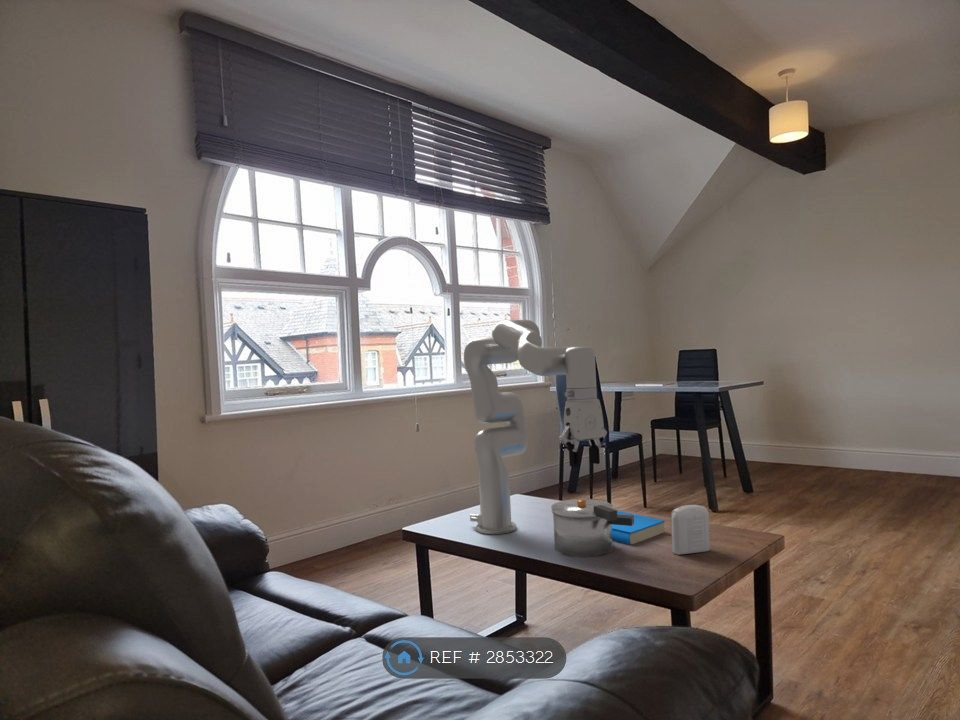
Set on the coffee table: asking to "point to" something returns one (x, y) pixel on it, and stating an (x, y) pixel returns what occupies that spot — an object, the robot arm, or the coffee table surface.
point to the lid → (584, 509)
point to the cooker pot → (586, 535)
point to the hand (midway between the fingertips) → (584, 464)
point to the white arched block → (690, 529)
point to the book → (637, 529)
